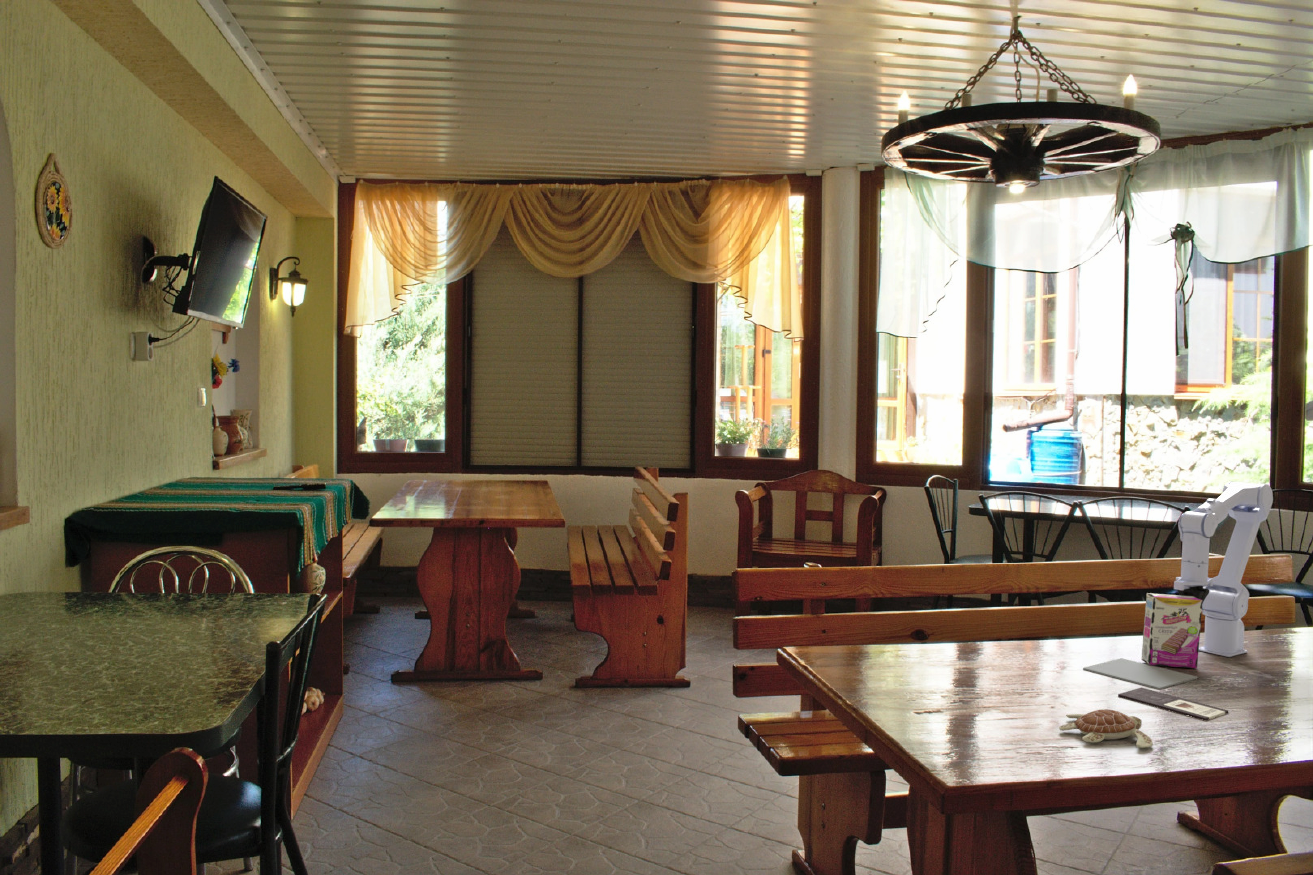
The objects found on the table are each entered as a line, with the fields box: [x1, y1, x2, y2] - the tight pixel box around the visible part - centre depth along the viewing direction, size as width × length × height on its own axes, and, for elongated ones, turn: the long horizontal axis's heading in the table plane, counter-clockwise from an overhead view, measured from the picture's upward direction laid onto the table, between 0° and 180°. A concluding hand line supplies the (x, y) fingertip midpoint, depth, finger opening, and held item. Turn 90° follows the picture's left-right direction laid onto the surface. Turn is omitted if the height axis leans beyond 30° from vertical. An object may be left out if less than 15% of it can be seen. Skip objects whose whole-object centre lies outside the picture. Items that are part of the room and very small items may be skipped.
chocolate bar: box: [1117, 687, 1229, 721], centre depth 201 cm, size 9×1×18 cm
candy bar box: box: [1141, 592, 1203, 669], centre depth 230 cm, size 11×5×16 cm, turn 84°
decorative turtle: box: [1058, 708, 1154, 749], centre depth 182 cm, size 18×17×5 cm
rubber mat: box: [1082, 657, 1198, 690], centre depth 223 cm, size 16×18×1 cm
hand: (1191, 617), depth 236 cm, fingers closed
